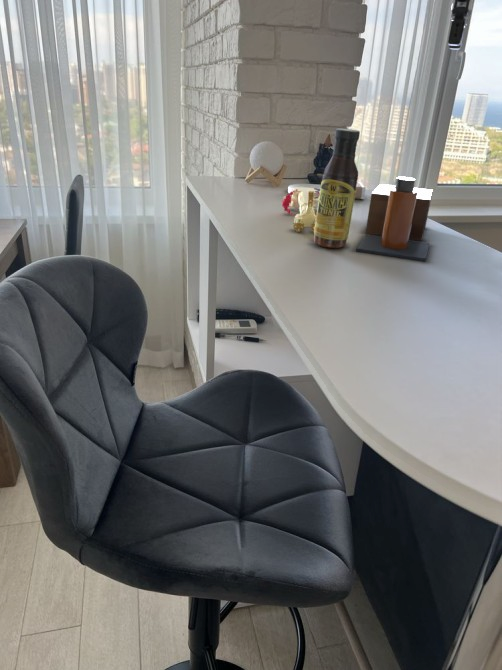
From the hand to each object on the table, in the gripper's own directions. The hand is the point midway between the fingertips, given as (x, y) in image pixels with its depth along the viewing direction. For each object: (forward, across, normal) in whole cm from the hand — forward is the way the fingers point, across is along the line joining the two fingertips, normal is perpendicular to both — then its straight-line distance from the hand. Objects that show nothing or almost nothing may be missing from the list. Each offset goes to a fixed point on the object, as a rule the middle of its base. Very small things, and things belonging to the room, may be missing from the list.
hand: (454, 47), depth 96 cm
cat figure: (+34, -8, +24) cm, 43 cm away
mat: (+34, -22, +3) cm, 41 cm away
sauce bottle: (+34, -26, +14) cm, 45 cm away
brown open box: (+34, -8, +4) cm, 35 cm away
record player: (+34, +22, +26) cm, 49 cm away
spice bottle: (+34, -22, +3) cm, 40 cm away
